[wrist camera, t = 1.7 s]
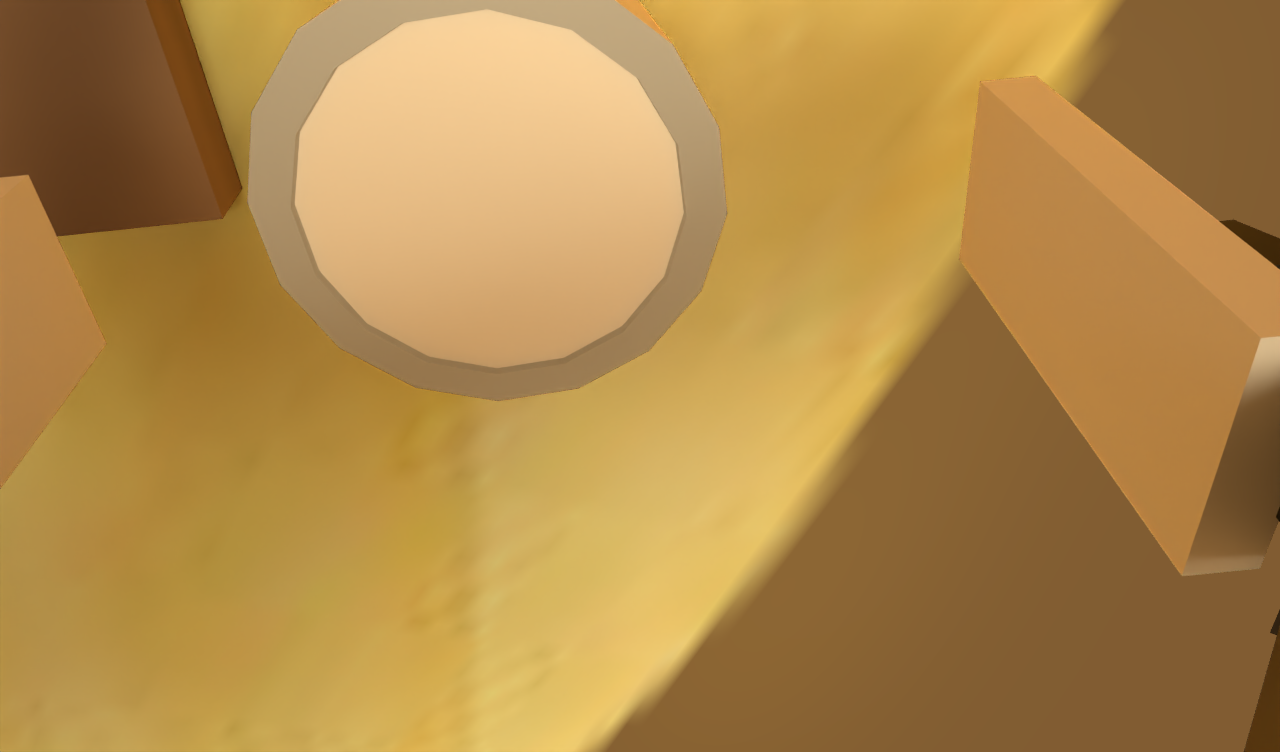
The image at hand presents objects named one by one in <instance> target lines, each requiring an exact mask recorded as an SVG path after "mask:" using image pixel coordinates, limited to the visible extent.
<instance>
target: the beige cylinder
mask: <svg viewBox="0 0 1280 752" xmlns="http://www.w3.org/2000/svg"><path fill="white" fill-rule="evenodd" d="M247 203H248V206H249V208H250V211H251V213H252V216H253V218H254V221H255V223H256V226H257V228H258V231H259V233H260V236H261V238H262V241H263V243H264V246H265V248H266V251H267V253H268V256H269V258H270V261H271V263H272V266H273V268H274V271H275V273H276V276H277V278H278V281H279V283H280V285H281V286H282V287H283V288H284V290H285V291H286V292H287V293H288V294H289V295H290V296H291V297H292V298H293V299H294V300H295V301H296V302H297V303H298V304H299V305H300V307H301V308H302V309H303V310H304V311H305V312H306V313H307V314H308V315H309V316H310V317H311V318H312V319H313V320H314V321H315V322H316V324H317V325H318V326H319V327H320V328H321V329H322V330H323V331H324V332H325V333H326V334H327V335H328V336H329V337H330V338H331V339H332V341H333V342H334V343H335V344H336V345H337V346H338V347H339V348H340V349H342V350H344V351H346V352H348V353H350V354H352V355H354V356H356V357H358V358H360V359H361V360H363V361H365V362H367V363H369V364H371V365H373V366H375V367H377V368H379V369H381V370H383V371H385V372H387V373H388V374H390V375H392V376H394V377H396V378H398V379H400V380H402V381H404V382H406V383H408V384H410V385H412V386H414V387H415V388H421V389H427V390H434V391H440V392H446V393H452V394H458V395H464V396H470V397H477V398H483V399H489V400H495V401H501V400H508V399H514V398H520V397H527V396H533V395H539V394H546V393H552V392H558V391H565V390H571V389H577V388H580V387H582V386H584V385H586V384H588V383H589V382H591V381H593V380H595V379H597V378H599V377H601V376H603V375H605V374H606V373H608V372H610V371H612V370H614V369H616V368H618V367H620V366H621V365H623V364H625V363H627V362H629V361H631V360H633V359H635V358H636V357H638V356H640V355H642V354H644V353H646V352H648V351H649V350H650V349H651V348H652V347H653V346H654V344H655V343H656V342H657V341H658V340H659V339H660V338H661V336H662V335H663V334H664V333H665V332H666V331H667V330H668V328H669V327H670V326H671V325H672V324H673V323H674V322H675V320H676V319H677V318H678V317H679V316H680V315H681V314H682V312H683V311H684V310H685V309H686V308H687V307H688V306H689V304H690V303H691V302H692V301H693V300H694V299H695V298H696V296H697V295H698V294H699V293H700V292H701V290H702V287H703V284H704V281H705V278H706V275H707V272H708V269H709V266H710V263H711V260H712V257H713V254H714V252H715V249H716V246H717V243H718V240H719V237H720V234H721V231H722V228H723V225H724V222H725V219H726V216H727V206H726V196H725V185H724V174H723V163H722V153H721V142H720V131H719V126H718V124H717V122H716V121H715V119H714V117H713V115H712V114H711V112H710V110H709V108H708V106H707V105H706V103H705V101H704V99H703V98H702V96H701V94H700V92H699V90H698V89H697V87H696V85H695V83H694V81H693V80H692V78H691V76H690V74H689V73H688V71H687V69H686V67H685V65H684V64H683V62H682V60H681V58H680V56H679V55H678V53H677V51H676V49H675V48H674V46H673V44H672V43H671V42H670V40H669V39H668V38H667V36H666V35H665V34H664V32H663V31H662V30H661V29H660V27H659V26H658V25H657V23H656V22H655V21H654V20H653V18H652V17H651V16H650V14H649V13H648V12H647V11H646V9H645V8H644V7H643V5H642V4H641V3H640V2H639V0H338V1H336V2H335V3H333V4H332V5H331V6H329V7H328V8H327V9H325V10H324V11H322V12H321V13H320V14H318V15H317V16H315V17H314V18H313V19H311V20H310V21H308V22H307V23H306V24H304V25H303V26H302V27H300V28H299V29H297V31H296V33H295V35H294V36H293V38H292V40H291V42H290V44H289V45H288V47H287V49H286V51H285V53H284V54H283V56H282V58H281V60H280V62H279V63H278V65H277V67H276V69H275V71H274V73H273V74H272V76H271V78H270V80H269V82H268V83H267V85H266V87H265V89H264V91H263V92H262V94H261V96H260V98H259V100H258V101H257V103H256V105H255V107H254V109H253V111H252V112H251V132H250V155H249V177H248V200H247Z"/></svg>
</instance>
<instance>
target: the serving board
mask: <svg viewBox="0 0 1280 752" xmlns="http://www.w3.org/2000/svg"><path fill="white" fill-rule="evenodd" d="M22 175H29V177H30V180H31V182H32V184H33V186H34V188H35V190H36V193H37V195H38V197H39V199H40V201H41V203H42V205H43V208H44V210H45V212H46V214H47V216H48V218H49V221H50V223H51V225H52V227H53V229H54V231H55V234H56V236H64V235H74V234H83V233H93V232H102V231H112V230H121V229H131V228H140V227H150V226H159V225H169V224H178V223H188V222H197V221H207V220H216V219H223V217H224V216H225V214H226V213H227V211H228V210H229V208H230V206H231V205H232V203H233V202H234V200H235V199H236V197H237V195H238V194H239V192H240V191H241V189H242V187H241V184H240V181H239V178H238V175H237V172H236V169H235V166H234V163H233V160H232V157H231V154H230V151H229V148H228V145H227V142H226V139H225V136H224V133H223V130H222V127H221V124H220V121H219V118H218V115H217V112H216V109H215V106H214V103H213V100H212V97H211V94H210V91H209V88H208V85H207V82H206V79H205V76H204V73H203V70H202V67H201V64H200V61H199V58H198V55H197V52H196V49H195V46H194V43H193V40H192V37H191V34H190V31H189V29H188V26H187V23H186V20H185V17H184V14H183V11H182V8H181V5H180V2H179V0H0V178H1V177H11V176H22Z"/></svg>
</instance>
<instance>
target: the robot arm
mask: <svg viewBox="0 0 1280 752" xmlns="http://www.w3.org/2000/svg"><path fill="white" fill-rule="evenodd" d="M959 260H960V261H961V263H962V264H963V266H964V267H965V268H966V270H967V271H968V273H969V274H970V276H971V277H972V278H973V280H974V281H975V283H976V284H977V285H978V287H979V288H980V290H981V291H982V293H983V294H984V295H985V297H986V298H987V300H988V301H989V302H990V304H991V305H992V307H993V308H994V310H995V311H996V312H997V314H998V315H999V317H1000V318H1001V319H1002V321H1003V322H1004V324H1005V325H1006V327H1007V328H1008V330H1009V331H1010V332H1011V334H1012V335H1013V337H1014V338H1015V339H1016V341H1017V342H1018V344H1019V345H1020V347H1021V348H1022V350H1023V351H1024V352H1025V354H1026V355H1027V357H1028V358H1029V359H1030V361H1031V362H1032V364H1033V365H1034V366H1035V368H1036V369H1037V371H1038V372H1039V374H1040V375H1041V376H1042V378H1043V379H1044V381H1045V382H1046V384H1047V385H1048V386H1049V388H1050V389H1051V391H1052V392H1053V394H1054V395H1055V396H1056V398H1057V399H1058V401H1059V402H1060V404H1061V405H1062V406H1063V408H1064V409H1065V411H1066V412H1067V414H1068V415H1069V416H1070V418H1071V419H1072V421H1073V422H1074V424H1075V425H1076V426H1077V427H1078V429H1079V431H1080V432H1081V433H1082V435H1083V436H1084V438H1085V439H1086V441H1087V442H1088V443H1089V445H1090V446H1091V448H1092V449H1093V451H1094V452H1095V453H1096V455H1097V456H1098V458H1099V459H1100V460H1101V462H1102V463H1103V465H1104V466H1105V468H1106V469H1107V470H1108V472H1109V473H1110V475H1111V476H1112V478H1113V479H1114V480H1115V482H1116V483H1117V485H1118V486H1119V488H1120V489H1121V490H1122V492H1123V493H1124V495H1125V496H1126V497H1127V499H1128V500H1129V502H1130V503H1131V505H1132V506H1133V507H1134V509H1135V510H1136V512H1137V513H1138V515H1139V516H1140V517H1141V519H1142V520H1143V521H1144V523H1145V525H1146V526H1147V527H1148V529H1149V530H1150V532H1151V533H1152V534H1153V536H1154V537H1155V539H1156V540H1157V542H1158V543H1159V544H1160V546H1161V547H1162V549H1163V550H1164V552H1165V553H1166V554H1167V556H1168V557H1169V559H1170V560H1171V562H1172V563H1173V564H1174V566H1175V567H1176V569H1177V570H1178V571H1179V573H1180V574H1181V576H1188V575H1199V574H1208V573H1219V572H1229V571H1239V570H1249V569H1258V568H1260V567H1261V564H1262V561H1263V559H1264V557H1265V554H1266V552H1267V549H1268V547H1269V544H1270V541H1271V539H1272V536H1273V534H1274V531H1275V529H1276V526H1277V524H1278V521H1279V522H1280V239H1279V238H1277V237H1274V236H1272V235H1270V234H1267V233H1265V232H1262V231H1260V230H1257V229H1255V228H1253V227H1250V226H1248V225H1245V224H1243V223H1240V222H1237V221H1236V220H1227V221H1218V220H1217V219H1215V218H1214V217H1213V216H1212V215H1210V214H1209V213H1208V212H1206V211H1205V210H1204V209H1203V208H1201V207H1200V206H1199V205H1198V204H1196V203H1195V202H1194V201H1193V200H1191V199H1190V198H1189V197H1188V196H1186V195H1185V194H1184V193H1183V192H1181V191H1180V190H1179V189H1177V188H1176V187H1175V186H1174V185H1173V184H1171V183H1170V182H1169V181H1167V180H1166V179H1165V178H1164V177H1162V176H1161V175H1160V174H1159V173H1157V172H1156V171H1155V170H1153V169H1152V168H1151V167H1150V166H1149V165H1147V164H1146V163H1145V162H1144V161H1142V160H1141V159H1140V158H1138V157H1137V156H1136V155H1134V154H1133V153H1132V152H1131V151H1130V150H1128V149H1127V148H1126V147H1124V146H1123V145H1122V144H1121V143H1120V142H1118V141H1117V140H1116V139H1115V138H1113V137H1112V136H1111V135H1110V134H1108V133H1107V132H1106V131H1104V130H1103V129H1102V128H1101V127H1099V126H1098V125H1097V124H1096V123H1094V122H1093V121H1092V120H1090V119H1089V118H1088V117H1087V116H1085V115H1084V114H1083V113H1082V112H1080V111H1079V110H1078V109H1077V108H1075V107H1074V106H1073V105H1072V104H1070V103H1069V102H1068V101H1067V100H1065V99H1064V98H1063V97H1062V96H1060V95H1059V94H1058V93H1057V92H1055V91H1054V90H1053V89H1052V88H1050V87H1049V86H1048V85H1047V84H1045V83H1044V82H1043V81H1041V80H1040V79H1039V78H1038V77H1036V76H1030V77H1019V78H1009V79H999V80H989V81H980V88H979V97H978V105H977V113H976V122H975V130H974V139H973V147H972V156H971V164H970V172H969V181H968V189H967V198H966V206H965V214H964V223H963V231H962V240H961V248H960V257H959ZM105 345H106V341H105V339H104V337H103V335H102V333H101V331H100V329H99V326H98V324H97V322H96V320H95V318H94V316H93V313H92V311H91V309H90V307H89V305H88V303H87V300H86V298H85V296H84V294H83V292H82V290H81V288H80V285H79V283H78V281H77V279H76V277H75V275H74V272H73V270H72V268H71V266H70V264H69V262H68V259H67V257H66V255H65V253H64V251H63V249H62V246H61V244H60V242H59V240H58V238H57V236H56V234H55V231H54V229H53V227H52V225H51V223H50V221H49V218H48V216H47V214H46V212H45V210H44V208H43V205H42V203H41V201H40V199H39V197H38V195H37V193H36V190H35V188H34V186H33V184H32V182H31V180H30V177H29V175H22V176H11V177H1V178H0V489H1V487H2V486H3V485H4V483H5V482H6V481H7V479H8V478H9V477H10V475H11V474H12V472H13V471H14V470H15V468H16V467H17V466H18V464H19V463H20V461H21V460H22V459H23V457H24V456H25V455H26V453H27V452H28V450H29V449H30V448H31V446H32V445H33V444H34V442H35V441H36V440H37V438H38V437H39V435H40V434H41V433H42V431H43V430H44V429H45V427H46V426H47V424H48V423H49V422H50V420H51V419H52V418H53V416H54V415H55V413H56V412H57V411H58V409H59V408H60V407H61V405H62V404H63V403H64V401H65V400H66V398H67V397H68V396H69V394H70V393H71V392H72V390H73V389H74V387H75V386H76V385H77V383H78V382H79V381H80V379H81V378H82V376H83V375H84V374H85V372H86V371H87V370H88V368H89V367H90V366H91V364H92V363H93V361H94V360H95V359H96V357H97V356H98V355H99V353H100V352H101V350H102V349H103V348H104V346H105ZM1270 633H1272V634H1275V635H1277V637H1276V641H1275V644H1274V647H1273V651H1272V654H1271V658H1270V661H1269V665H1268V668H1267V672H1266V675H1265V679H1264V683H1263V686H1262V690H1261V693H1260V697H1259V700H1258V704H1257V707H1256V711H1255V714H1254V718H1253V721H1252V725H1251V728H1250V732H1249V735H1248V739H1247V742H1246V746H1245V749H1244V752H1280V610H1279V613H1278V615H1277V618H1276V620H1275V622H1274V625H1273V627H1272V629H1271V632H1270Z"/></svg>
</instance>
